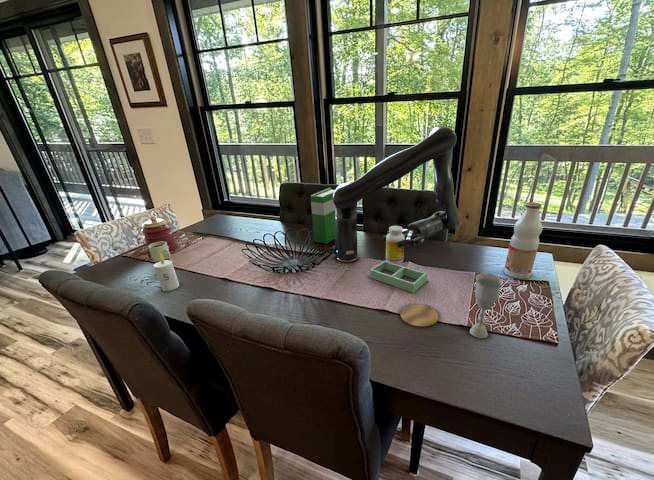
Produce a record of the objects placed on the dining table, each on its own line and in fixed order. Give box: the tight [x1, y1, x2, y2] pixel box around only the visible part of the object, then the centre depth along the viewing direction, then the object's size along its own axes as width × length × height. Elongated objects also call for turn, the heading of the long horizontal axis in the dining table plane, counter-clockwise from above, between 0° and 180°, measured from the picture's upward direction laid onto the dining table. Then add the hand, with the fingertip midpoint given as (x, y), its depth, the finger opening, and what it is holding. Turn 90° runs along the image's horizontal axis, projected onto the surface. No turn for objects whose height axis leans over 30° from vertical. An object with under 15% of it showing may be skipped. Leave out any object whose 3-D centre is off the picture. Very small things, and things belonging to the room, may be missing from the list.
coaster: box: [399, 303, 439, 328], centre depth 101 cm, size 12×12×1 cm
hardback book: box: [309, 187, 336, 245], centre depth 161 cm, size 18×7×24 cm, turn 150°
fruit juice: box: [503, 201, 544, 280], centre depth 117 cm, size 9×9×28 cm
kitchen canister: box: [140, 216, 177, 253], centre depth 157 cm, size 13×13×18 cm
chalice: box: [469, 273, 504, 339], centre depth 88 cm, size 7×7×18 cm
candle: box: [153, 252, 180, 292], centre depth 122 cm, size 6×6×15 cm
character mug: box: [147, 242, 171, 263], centre depth 135 cm, size 11×7×13 cm, turn 67°
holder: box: [369, 260, 428, 293], centre depth 122 cm, size 20×10×4 cm, turn 50°
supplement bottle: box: [385, 225, 405, 265], centre depth 113 cm, size 7×7×13 cm
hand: (390, 242), depth 111 cm, fingers closed on supplement bottle, 6 cm apart
